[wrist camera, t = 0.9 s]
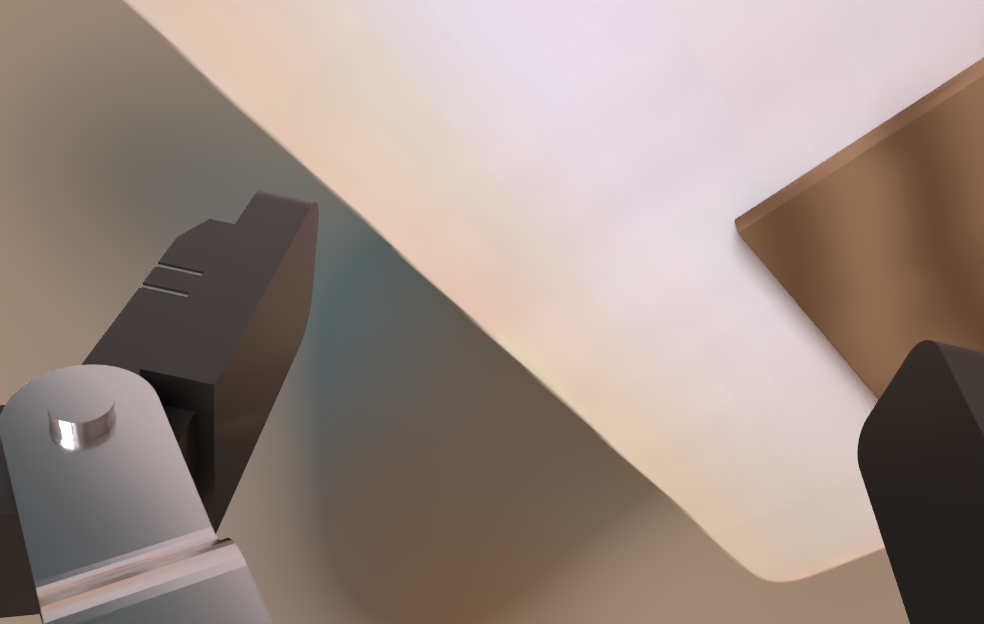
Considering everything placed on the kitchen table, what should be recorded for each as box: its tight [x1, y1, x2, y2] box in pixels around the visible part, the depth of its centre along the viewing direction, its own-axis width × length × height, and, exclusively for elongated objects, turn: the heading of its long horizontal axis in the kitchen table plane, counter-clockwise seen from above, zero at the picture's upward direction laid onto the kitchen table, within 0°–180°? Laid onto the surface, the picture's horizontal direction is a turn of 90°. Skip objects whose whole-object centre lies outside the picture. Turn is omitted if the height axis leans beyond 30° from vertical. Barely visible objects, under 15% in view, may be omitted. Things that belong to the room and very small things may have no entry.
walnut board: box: [735, 58, 984, 399], centre depth 40 cm, size 14×16×1 cm
